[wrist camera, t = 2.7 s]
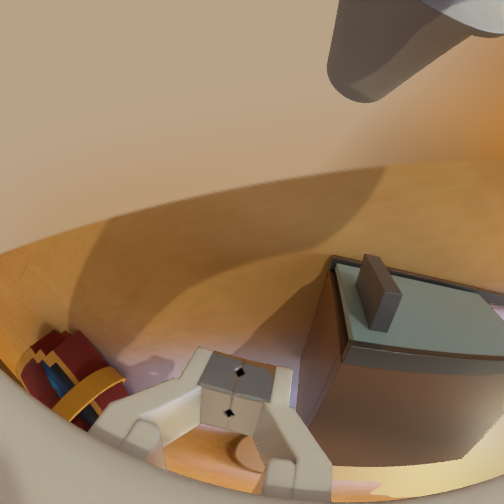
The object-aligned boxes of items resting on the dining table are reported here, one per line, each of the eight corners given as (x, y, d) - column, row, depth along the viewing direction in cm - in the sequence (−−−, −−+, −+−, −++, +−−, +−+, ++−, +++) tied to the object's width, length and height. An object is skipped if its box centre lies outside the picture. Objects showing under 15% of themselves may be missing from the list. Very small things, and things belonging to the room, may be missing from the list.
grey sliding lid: (343, 235, 23) (369, 299, 12) (487, 271, 21) (549, 329, 10) (334, 269, 24) (349, 349, 14) (476, 299, 22) (530, 363, 12)
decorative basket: (65, 289, 36) (-12, 325, 22) (202, 432, 34) (149, 507, 20) (45, 374, 49) (3, 403, 35) (130, 464, 47) (96, 503, 33)
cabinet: (331, 254, 25) (349, 345, 12) (515, 296, 22) (574, 359, 9) (300, 359, 29) (289, 463, 17) (471, 377, 26) (504, 449, 14)
